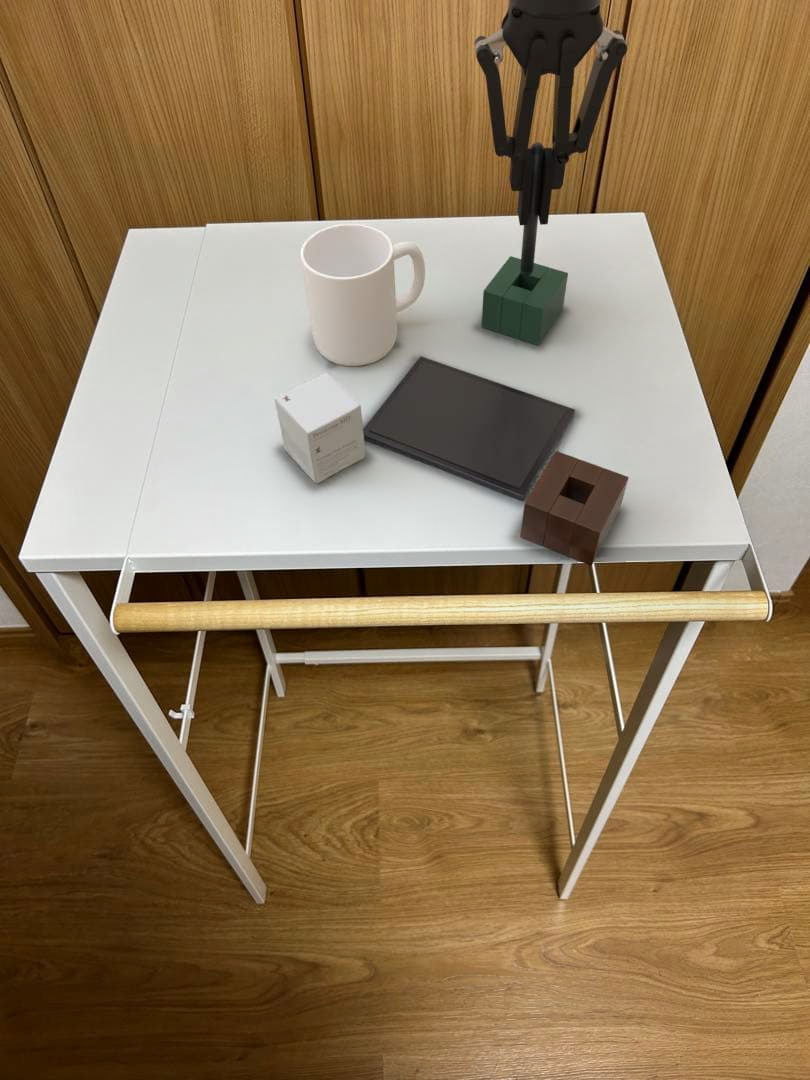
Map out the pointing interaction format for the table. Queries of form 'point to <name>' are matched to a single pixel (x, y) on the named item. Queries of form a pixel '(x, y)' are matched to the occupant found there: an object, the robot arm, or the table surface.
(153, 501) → the table surface
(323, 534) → the table surface
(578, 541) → the holder
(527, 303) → the stand
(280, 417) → the product box
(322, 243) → the cup
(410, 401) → the tablet
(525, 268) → the stylus
